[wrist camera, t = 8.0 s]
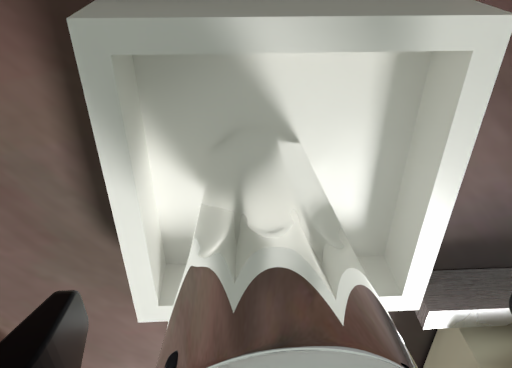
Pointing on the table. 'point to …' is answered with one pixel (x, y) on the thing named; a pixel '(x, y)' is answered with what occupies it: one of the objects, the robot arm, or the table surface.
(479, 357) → the slider
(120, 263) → the table surface
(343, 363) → the milkshake
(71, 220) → the table surface
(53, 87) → the table surface
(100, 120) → the tray
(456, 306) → the slide rails
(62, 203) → the table surface
